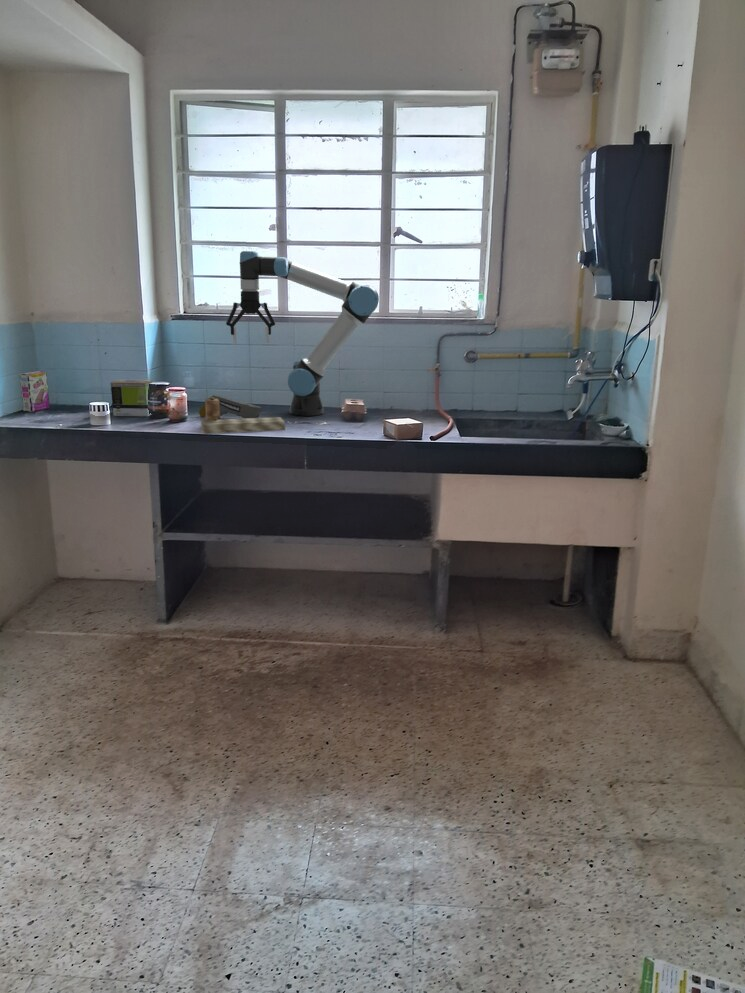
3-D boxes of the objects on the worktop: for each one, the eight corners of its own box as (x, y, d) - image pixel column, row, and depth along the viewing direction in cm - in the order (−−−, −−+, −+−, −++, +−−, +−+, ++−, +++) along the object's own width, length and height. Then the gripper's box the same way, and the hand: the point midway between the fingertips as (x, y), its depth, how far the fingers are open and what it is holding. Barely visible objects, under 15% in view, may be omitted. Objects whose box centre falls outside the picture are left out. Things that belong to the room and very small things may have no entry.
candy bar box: (32, 412, 315) (27, 374, 310) (23, 411, 316) (18, 373, 311) (50, 408, 325) (46, 371, 320) (41, 407, 327) (37, 370, 322)
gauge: (218, 425, 300) (217, 396, 296) (222, 431, 288) (221, 401, 285) (206, 425, 298) (204, 396, 294) (209, 432, 287) (208, 401, 283)
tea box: (154, 413, 321) (152, 379, 317) (147, 417, 311) (145, 382, 307) (120, 412, 321) (118, 378, 317) (112, 416, 312) (109, 381, 307)
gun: (248, 440, 313) (260, 408, 308) (196, 416, 314) (207, 384, 309) (251, 438, 316) (262, 407, 311) (199, 414, 317) (210, 383, 312)
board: (280, 425, 302) (280, 417, 301) (284, 429, 293) (284, 421, 292) (201, 428, 292) (200, 420, 291) (203, 433, 284) (203, 424, 283)
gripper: (277, 290, 308) (278, 341, 315) (218, 289, 301) (220, 342, 307) (281, 291, 301) (282, 343, 308) (220, 290, 294) (222, 343, 300)
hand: (251, 342), depth 307 cm, fingers open, 13 cm apart
